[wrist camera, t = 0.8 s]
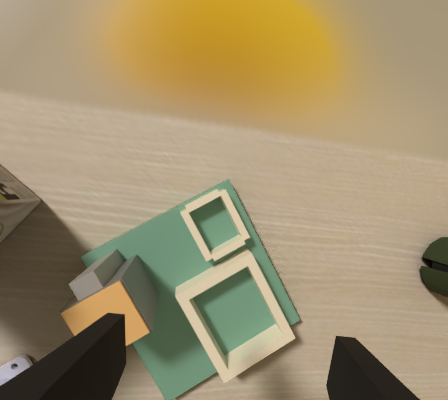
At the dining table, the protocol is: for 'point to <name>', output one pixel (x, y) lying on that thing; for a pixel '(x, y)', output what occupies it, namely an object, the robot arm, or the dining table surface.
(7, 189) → the coffee box
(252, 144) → the dining table surface
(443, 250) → the character mug
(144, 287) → the plug
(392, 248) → the dining table surface
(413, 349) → the dining table surface
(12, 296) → the dining table surface
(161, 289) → the board
